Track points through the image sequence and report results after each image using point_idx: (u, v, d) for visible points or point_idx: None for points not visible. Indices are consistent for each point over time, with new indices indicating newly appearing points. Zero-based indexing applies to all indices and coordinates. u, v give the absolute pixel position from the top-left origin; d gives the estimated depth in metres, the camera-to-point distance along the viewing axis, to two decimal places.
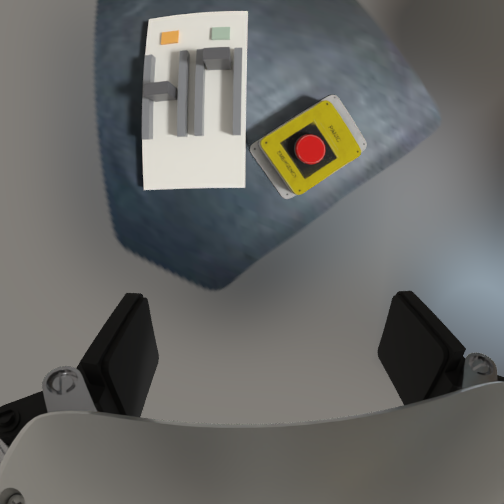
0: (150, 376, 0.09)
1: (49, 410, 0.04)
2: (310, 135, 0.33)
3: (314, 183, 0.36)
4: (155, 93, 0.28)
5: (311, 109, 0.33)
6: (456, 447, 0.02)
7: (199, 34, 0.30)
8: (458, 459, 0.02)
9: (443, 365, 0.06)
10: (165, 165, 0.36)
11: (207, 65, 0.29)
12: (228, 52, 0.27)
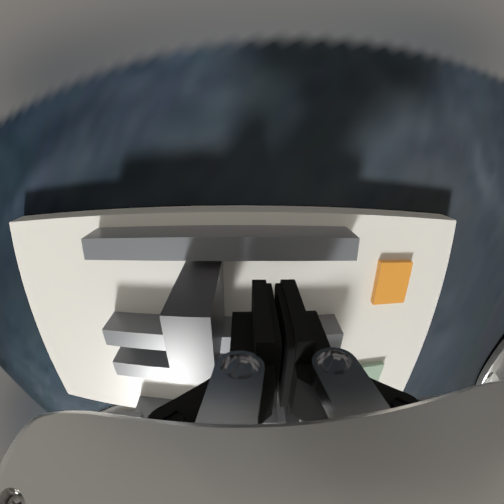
0: None
1: (209, 387, 0.06)
2: None
3: None
4: (170, 353, 0.09)
5: None
6: (456, 447, 0.02)
7: (376, 341, 0.16)
8: (458, 459, 0.02)
9: (292, 355, 0.07)
10: (54, 275, 0.14)
11: None
12: None
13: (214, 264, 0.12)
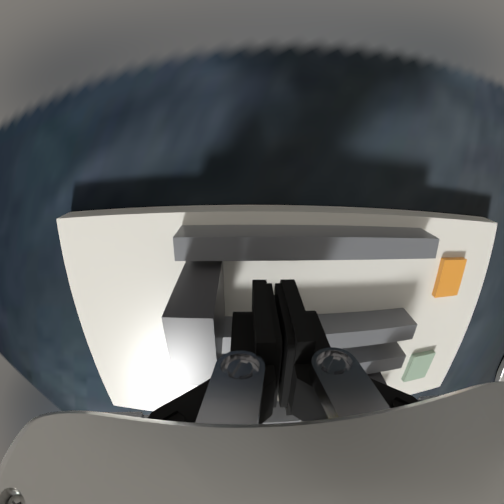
0: None
1: (210, 387, 0.06)
2: None
3: None
4: (172, 355, 0.09)
5: None
6: (456, 446, 0.02)
7: (431, 331, 0.16)
8: (458, 459, 0.02)
9: (292, 356, 0.07)
10: (116, 278, 0.14)
11: None
12: None
13: (215, 264, 0.12)
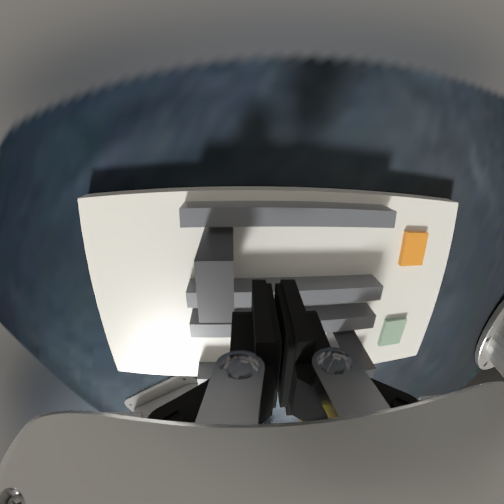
0: None
1: (209, 387, 0.06)
2: None
3: None
4: (199, 294, 0.12)
5: None
6: (456, 447, 0.02)
7: (401, 298, 0.19)
8: (458, 459, 0.02)
9: (292, 356, 0.07)
10: (128, 248, 0.17)
11: (337, 347, 0.17)
12: None
13: (228, 230, 0.15)
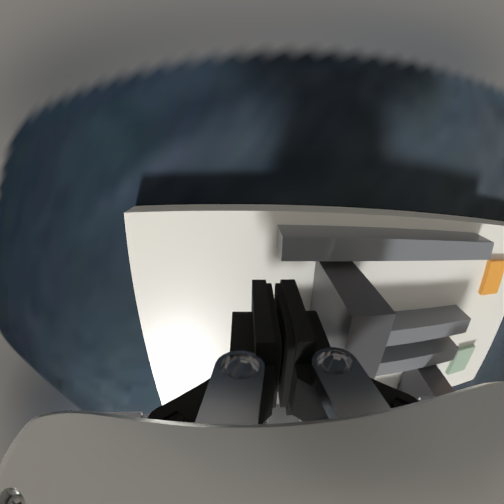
0: None
1: (209, 387, 0.06)
2: None
3: None
4: None
5: None
6: (456, 447, 0.02)
7: (474, 326, 0.16)
8: (458, 459, 0.02)
9: (292, 356, 0.07)
10: (194, 280, 0.13)
11: (424, 383, 0.13)
12: None
13: (349, 264, 0.12)
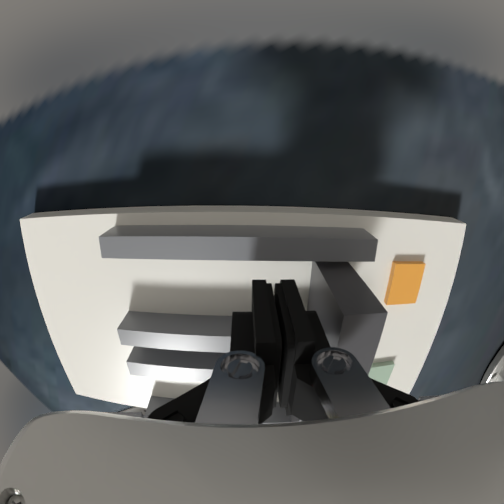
0: None
1: (209, 387, 0.06)
2: None
3: None
4: None
5: None
6: (456, 447, 0.02)
7: (388, 341, 0.16)
8: (458, 459, 0.02)
9: (292, 356, 0.07)
10: (66, 273, 0.14)
11: None
12: None
13: (345, 264, 0.12)
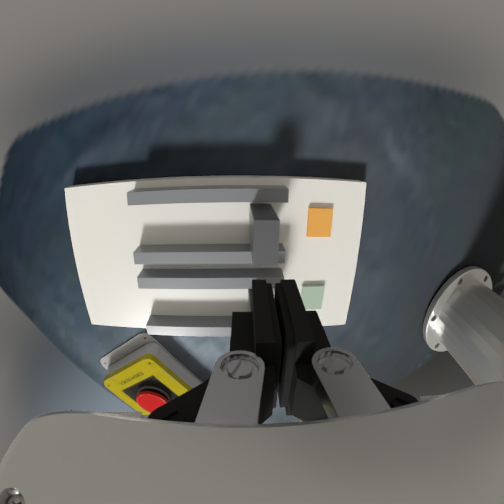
0: None
1: (209, 387, 0.06)
2: None
3: (120, 397, 0.28)
4: (255, 243, 0.18)
5: None
6: (456, 447, 0.02)
7: (315, 266, 0.25)
8: (458, 459, 0.02)
9: (292, 356, 0.07)
10: (98, 223, 0.22)
11: (249, 300, 0.23)
12: None
13: (268, 205, 0.21)
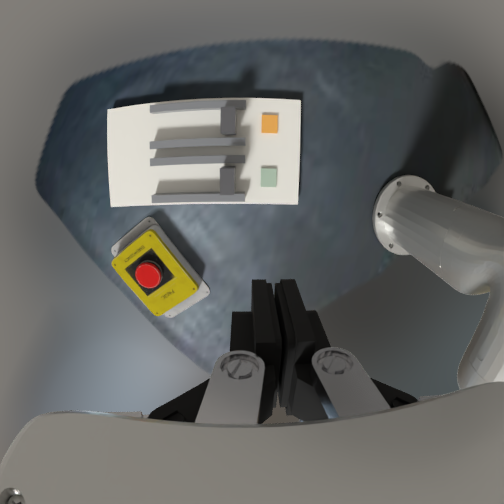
0: None
1: (209, 387, 0.06)
2: (159, 275, 0.38)
3: (122, 277, 0.40)
4: (221, 119, 0.29)
5: (186, 275, 0.40)
6: (456, 447, 0.02)
7: (269, 155, 0.35)
8: (458, 459, 0.02)
9: (292, 355, 0.07)
10: (127, 129, 0.33)
11: None
12: (227, 194, 0.32)
13: None
